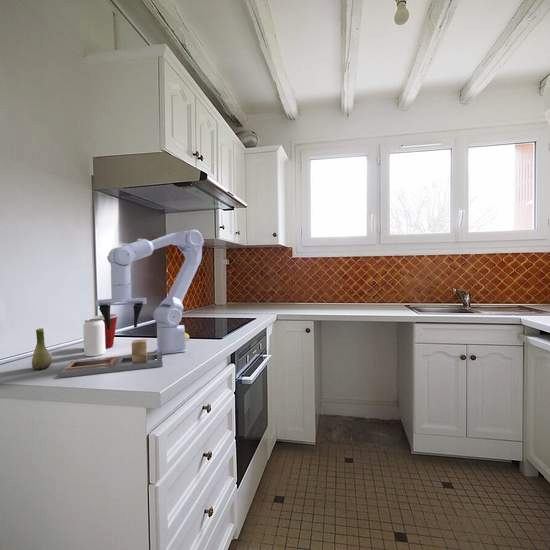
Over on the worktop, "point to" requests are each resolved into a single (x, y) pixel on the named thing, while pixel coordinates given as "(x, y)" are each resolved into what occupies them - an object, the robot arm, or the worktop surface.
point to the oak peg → (139, 350)
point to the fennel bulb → (41, 352)
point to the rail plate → (109, 365)
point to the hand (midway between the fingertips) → (122, 327)
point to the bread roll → (186, 337)
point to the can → (94, 337)
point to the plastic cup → (108, 332)
